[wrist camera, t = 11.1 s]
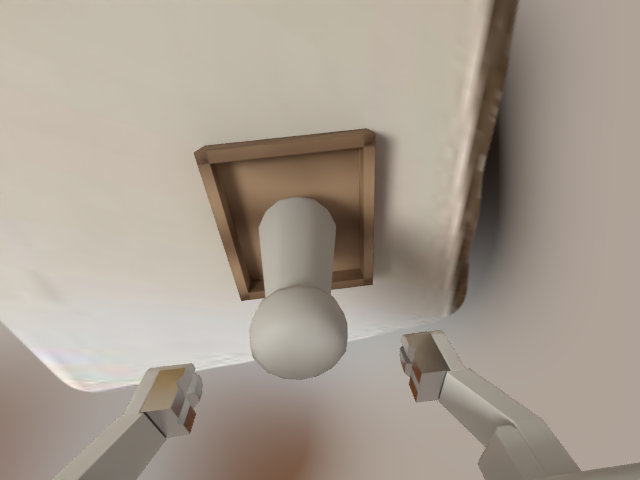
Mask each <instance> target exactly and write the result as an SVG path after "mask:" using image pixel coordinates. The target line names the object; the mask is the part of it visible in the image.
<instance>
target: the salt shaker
mask: <svg viewBox="0 0 640 480" xmlns="http://www.w3.org/2000/svg"><path fill="white" fill-rule="evenodd" d="M335 236H336V224H335V222H334V220H333V218H332V217H331V215H330V213H329V211H328V210H327V209H326V208H325V207H324V206H322V205H321V204H320V203H318V202H317V201H316V200H314V199H310V198H305V197H299V196H294V197H290V198H285V199H281V200H279V201H277V202H276V203H275V204H274V205H273V206H271V207H270V208H269V209H268V210H266V212H265V214H264V216H263V219H262V221H261V223H260V226H259V237H260V247H261V257H262V267H263V278H264V288H265V299H263V300H262V302H261V303H260V305H259V307H258V309H257V311H256V313H255V314H254V316H253V318H252V322H251V326H250V330H249V331H250V346H251V351H252V356H253V358H254V359H255V360H256V361H257V362H258V363H259V364H260V365H261V366H262V367H263V368H264V369H265V370H266V371H267V372H268V373H270V374H272V375H275V376H278V377H281V378H283V379H296V380H302V379H307V378H310V377H316V376H319V375H320V374H322V373H324V372H326V371H328V370H329V369H331V368H332V367H333V366H334V365H335V364H336V363H337V362H338V361H339V360H340V358H341V357H342V356H343V354H344V353H345V352H346V346H347V337H348V335H347V321H346V318H345V315H344V313H343V311H342V310H341V308H340V306H339V305H338V303H337V301H336V300H335V299H334V297H333V296H331V285H332V272H333V260H334V247H335Z"/></svg>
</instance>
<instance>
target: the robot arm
mask: <svg viewBox="0 0 640 480" xmlns="http://www.w3.org/2000/svg"><path fill="white" fill-rule="evenodd" d="M401 342H402V345H403V346H402V347H401V348H400V359H401V364H402V367H403V370H404V372H405V374H407V375H408V376H409V377H410V381H409V386H410V388H411V391H412V393H413V396H414V399H415V401H416V402H423V401H432V400H439V402H440V403H441V404H442V405H443V406H444V407H445V408H446V409H447V410H448V411H449V412H450V413H451V414H452V415H453V416H454V417H455V418H456V419H457V420H458V421H459V422H460V423H461V424H462V425H463V426H464V427H465V428H467V430H469V431H470V432H471V433H472V434H473V435H474V436H475V437H476V438H477V439H478V440H479V441H480V442H481V443H482V444H483V445H484V446H485V447H486V448H485V450H484V452H483V454H482V455H481V457H480V459H479V462H478V465H479V468H480V470H481V472H482V474H483V476H484V478H485V480H640V463H634V464H627V465H620V466H614V467H607V468H601V469H594V470H588V471H581V470H580V468H579V467H578V466H577V464H576V463H575V462H574V460H573V459H572V458H571V456H570V455H569V454H568V452H567V451H566V450H565V448H564V447H563V446H562V444H561V443H560V442H559V440H558V439H557V437H556V436H555V435H554V433H553V432H552V431H551V430H550V428H549V427H548V425H547V424H546V423H545V421H544V420H543V419H542V418H540V417H539V416H538V415H536V414H535V413H533V412H532V411H530V410H529V409H528V408H526V407H525V406H523V405H522V404H520V403H519V402H518V401H516V400H515V399H513V398H512V397H510V396H509V395H507V394H506V393H505V392H503V391H502V390H500V389H499V388H497V387H496V386H494V385H493V384H492V383H490V382H489V381H487V380H486V379H485V378H483V377H482V376H480V375H479V374H477V373H476V372H475V371H473V370H472V369H470V368H467V369H466V368H465V366H464V365H463V363H462V361H461V360H460V358H459V357H458V355H457V353H456V352H455V350H454V348H453V347H452V345H451V343H450V342H449V340H448V339H447V337H446V335H445V334H444V332H443V331H442V330H436V331H430V332H427V331H426V332H419V333H412V334H406V335H402V337H401ZM194 371H195V367H194V365H193V364H192V363H190V364H181V365H173V366H163V367H155V368H150V369H149V370H148V371H147V372H146V373H145V375H144V376H143V378H142V380H141V382H140V384H139V386H138V388H137V390H136V392H135V394H134V396H133V398H132V400H131V402H130V404H129V406H128V408H127V410H126V412H125V413H124V416H119V417H118V418H117V419H116V420H115V421H114V422H113V423H111V424H110V425H109V426H108V427H107V428H106V429H105V430H104V431H103V432H102V433H101V434H100V435H99V436H98V437H97V438H96V439H94V441H92V442H91V443H90V444H89V445H88V446H87V447H86V448H85V449H84V450H83V451H82V452H81V453H80V454H79V455H77V456H76V457H75V458H74V459H73V460H72V461H71V462H70V463H69V464H68V465H67V466H66V467H65V468H64V469H63V470H62V471H60V472H59V473H58V474H57V475H56V476H55V477H54V478H53V479H52V480H136V479H137V478H138V477H139V475H140V474H141V473H142V471H143V470H144V469H145V467H146V466H147V465H148V463H149V462H150V461H151V459H152V458H153V457H154V455H155V454H156V453H157V451H158V450H159V448H160V447H161V446H162V445H163V443H164V442H165V441H166V438H170V437H175V436H181V435H187V434H190V432H191V429H192V426H193V422H194V419H195V416H196V413H195V410H194V407H195V406H196V405H197V404H198V403H199V401H200V398H201V395H202V386H203V384H202V379H201V377H200V375H198V374H196V373H194Z"/></svg>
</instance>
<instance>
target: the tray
mask: <svg viewBox="0 0 640 480" xmlns="http://www.w3.org/2000/svg"><path fill="white" fill-rule="evenodd" d="M194 155H195V158H196V162H197V165H198V168H199V171H200V174H201V177H202V180H203V183H204V186H205V190H206V193H207V196H208V199H209V202H210V205H211V208H212V211H213V214H214V217H215V221H216V224H217V227H218V230H219V233H220V236H221V239H222V242H223V245H224V249H225V252H226V255H227V258H228V261H229V264H230V267H231V270H232V273H233V276H234V280H235V283H236V286H237V289H238V292H239V295H240V298H241V301H244V300H252V299H260V298H265V288H264V278H263V267H262V257H261V247H260V237H259V226H260V223H261V221H262V219H263V216H264V214H265V212H266V210H268V209H269V208H270V207H271V206H273V205H274V204H275V203H276V202H277V201H279V200H281V199H285V198H290V197H294V196H299V197H305V198H310V199H314V200H316V201H317V202H318V203H320V204H321V205H322V206H324V207H325V208H326V209H327V210H328V211H329V213H330V215H331V217H332V218H333V220H334V222H335V224H336V236H335V247H334V260H333V272H332V285H331V290H333V289H341V288H349V287H357V286H365V285H373V240H374V187H375V133H374V132H372V131H371V130H369V129H358V130H348V131H339V132H330V133H320V134H311V135H301V136H292V137H283V138H273V139H264V140H255V141H245V142H236V143H226V144H217V145H208V146H204V147H202V148H200V149H199V150H197V151H196V152H194Z"/></svg>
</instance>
